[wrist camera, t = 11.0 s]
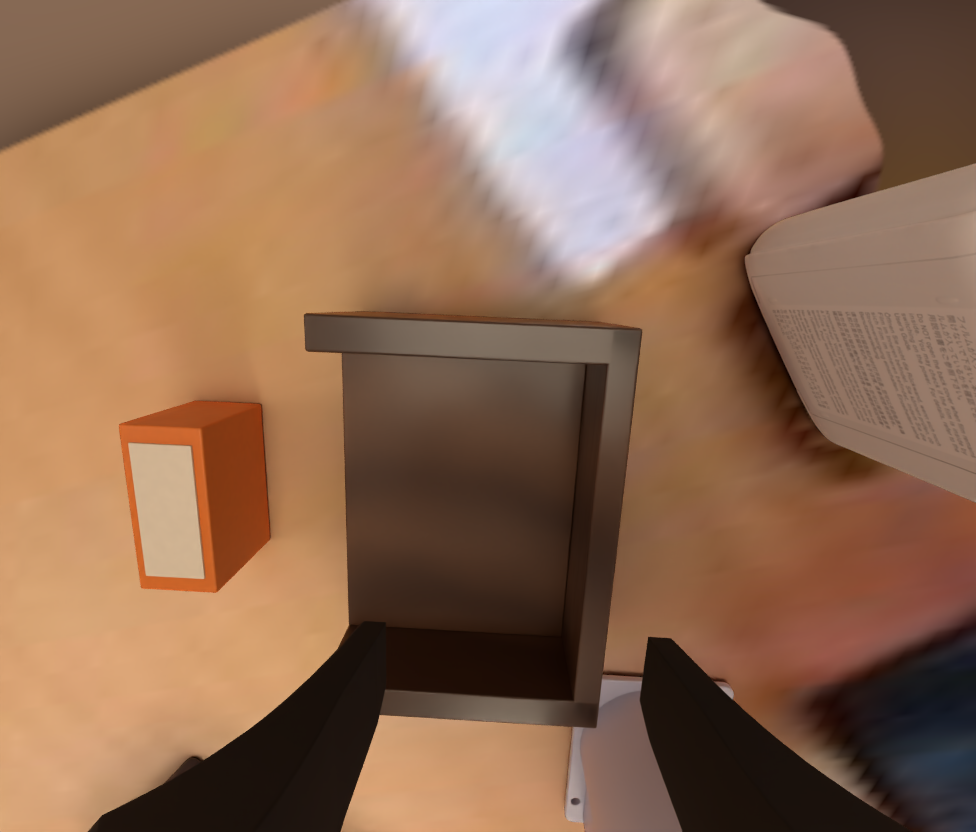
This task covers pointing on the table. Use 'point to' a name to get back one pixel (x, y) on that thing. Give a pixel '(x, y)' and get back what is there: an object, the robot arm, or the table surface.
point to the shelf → (484, 505)
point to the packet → (196, 493)
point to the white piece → (882, 322)
